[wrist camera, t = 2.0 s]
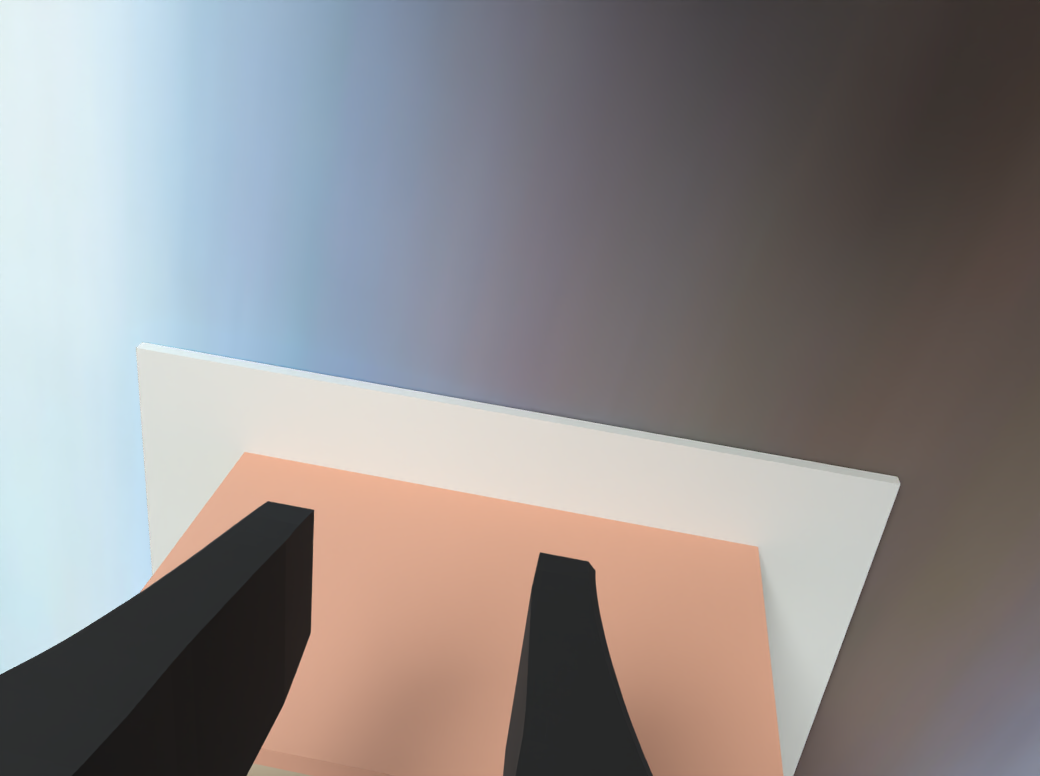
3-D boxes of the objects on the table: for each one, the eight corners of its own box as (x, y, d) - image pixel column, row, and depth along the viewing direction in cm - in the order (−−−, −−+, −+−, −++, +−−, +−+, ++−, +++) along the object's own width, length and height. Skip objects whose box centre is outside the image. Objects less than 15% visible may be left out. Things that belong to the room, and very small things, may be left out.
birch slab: (244, 451, 23) (55, 705, 16) (758, 546, 22) (792, 857, 15) (245, 537, 24) (70, 807, 17) (733, 630, 24) (755, 954, 17)
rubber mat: (897, 476, 21) (900, 484, 21) (740, 908, 29) (740, 918, 28) (142, 342, 23) (136, 347, 22) (173, 789, 30) (168, 798, 30)
